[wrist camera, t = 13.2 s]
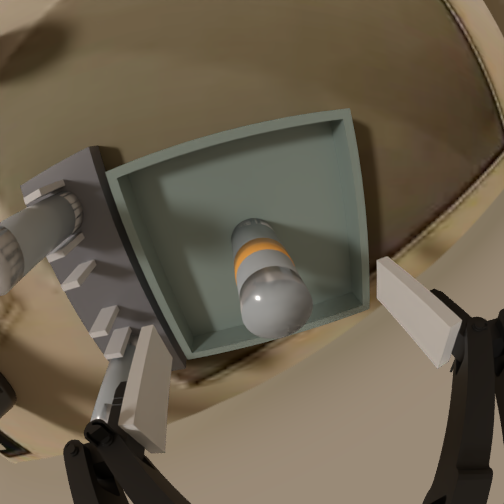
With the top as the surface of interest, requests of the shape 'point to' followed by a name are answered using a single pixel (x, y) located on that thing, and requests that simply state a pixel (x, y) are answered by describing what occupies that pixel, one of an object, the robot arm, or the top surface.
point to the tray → (245, 207)
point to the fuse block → (101, 260)
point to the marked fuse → (268, 282)
